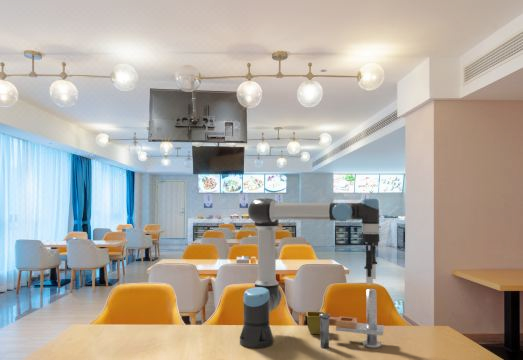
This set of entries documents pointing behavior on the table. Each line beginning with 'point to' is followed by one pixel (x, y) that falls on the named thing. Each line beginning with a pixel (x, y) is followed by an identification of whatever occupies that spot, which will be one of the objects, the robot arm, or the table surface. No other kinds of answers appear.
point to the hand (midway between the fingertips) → (371, 281)
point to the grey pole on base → (370, 328)
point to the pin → (324, 329)
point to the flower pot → (314, 322)
